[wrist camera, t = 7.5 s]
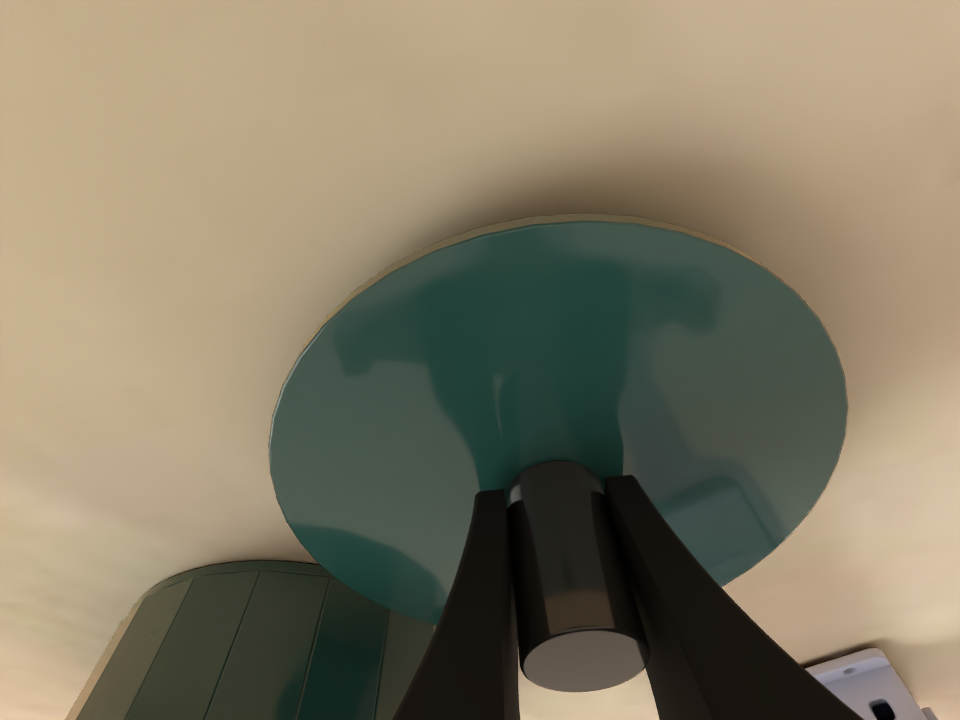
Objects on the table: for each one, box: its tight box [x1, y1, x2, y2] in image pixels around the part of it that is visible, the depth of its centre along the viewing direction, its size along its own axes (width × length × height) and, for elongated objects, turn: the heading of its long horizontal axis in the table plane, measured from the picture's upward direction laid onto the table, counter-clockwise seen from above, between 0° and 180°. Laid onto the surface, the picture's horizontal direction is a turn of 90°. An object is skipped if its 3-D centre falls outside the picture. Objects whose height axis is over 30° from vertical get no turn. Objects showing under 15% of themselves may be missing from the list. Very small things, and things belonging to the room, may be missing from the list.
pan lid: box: [269, 213, 848, 692], centre depth 11 cm, size 14×14×5 cm
